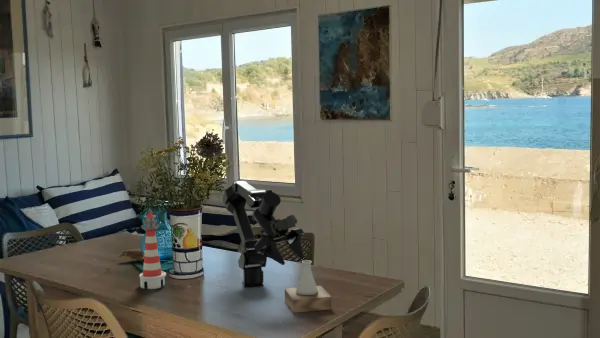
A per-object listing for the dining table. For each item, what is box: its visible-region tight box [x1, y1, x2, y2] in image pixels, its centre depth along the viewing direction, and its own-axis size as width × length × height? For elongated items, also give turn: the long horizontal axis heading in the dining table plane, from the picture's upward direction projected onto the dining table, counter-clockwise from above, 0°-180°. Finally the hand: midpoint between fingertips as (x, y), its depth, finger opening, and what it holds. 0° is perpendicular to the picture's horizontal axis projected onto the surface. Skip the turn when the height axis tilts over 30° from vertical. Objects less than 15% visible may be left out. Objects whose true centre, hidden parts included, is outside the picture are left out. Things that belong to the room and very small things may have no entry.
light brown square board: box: [284, 285, 332, 313], centre depth 194 cm, size 12×12×4 cm
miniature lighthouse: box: [138, 200, 167, 290], centre depth 215 cm, size 9×9×30 cm
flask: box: [296, 259, 318, 295], centre depth 194 cm, size 7×7×10 cm
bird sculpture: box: [117, 248, 144, 262], centre depth 252 cm, size 7×25×5 cm, turn 102°
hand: (293, 261), depth 197 cm, fingers open, 9 cm apart
